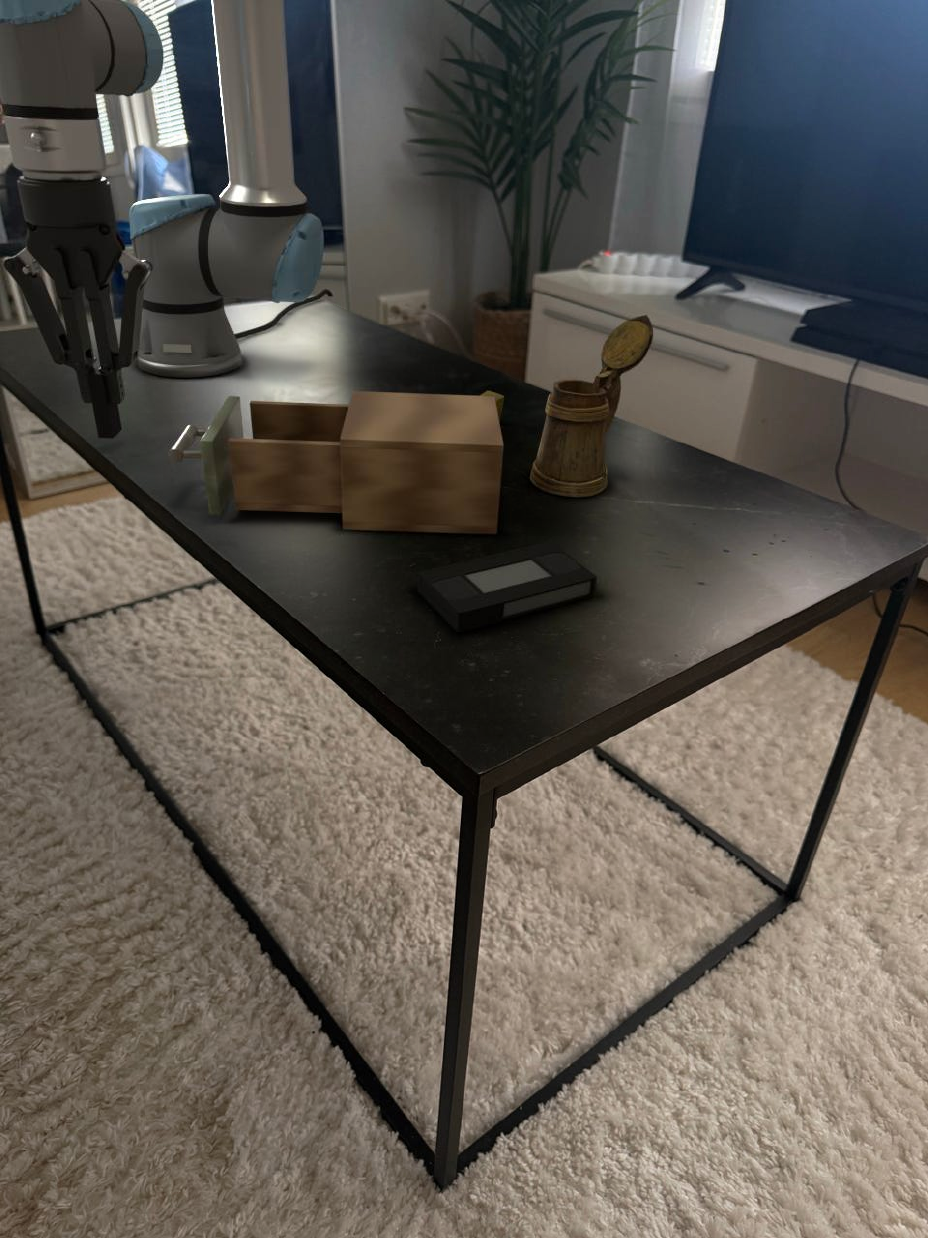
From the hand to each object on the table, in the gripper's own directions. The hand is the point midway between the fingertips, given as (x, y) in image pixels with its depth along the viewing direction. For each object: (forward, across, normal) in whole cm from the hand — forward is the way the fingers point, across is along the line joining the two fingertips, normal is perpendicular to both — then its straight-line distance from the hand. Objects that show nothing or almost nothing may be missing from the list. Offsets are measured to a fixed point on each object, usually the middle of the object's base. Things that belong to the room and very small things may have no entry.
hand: (110, 433), depth 86 cm
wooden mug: (+7, +51, +8) cm, 52 cm away
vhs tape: (+7, +40, -19) cm, 45 cm away
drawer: (+6, +16, 0) cm, 17 cm away
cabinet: (+7, +32, 0) cm, 33 cm away
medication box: (+7, +38, +21) cm, 44 cm away
